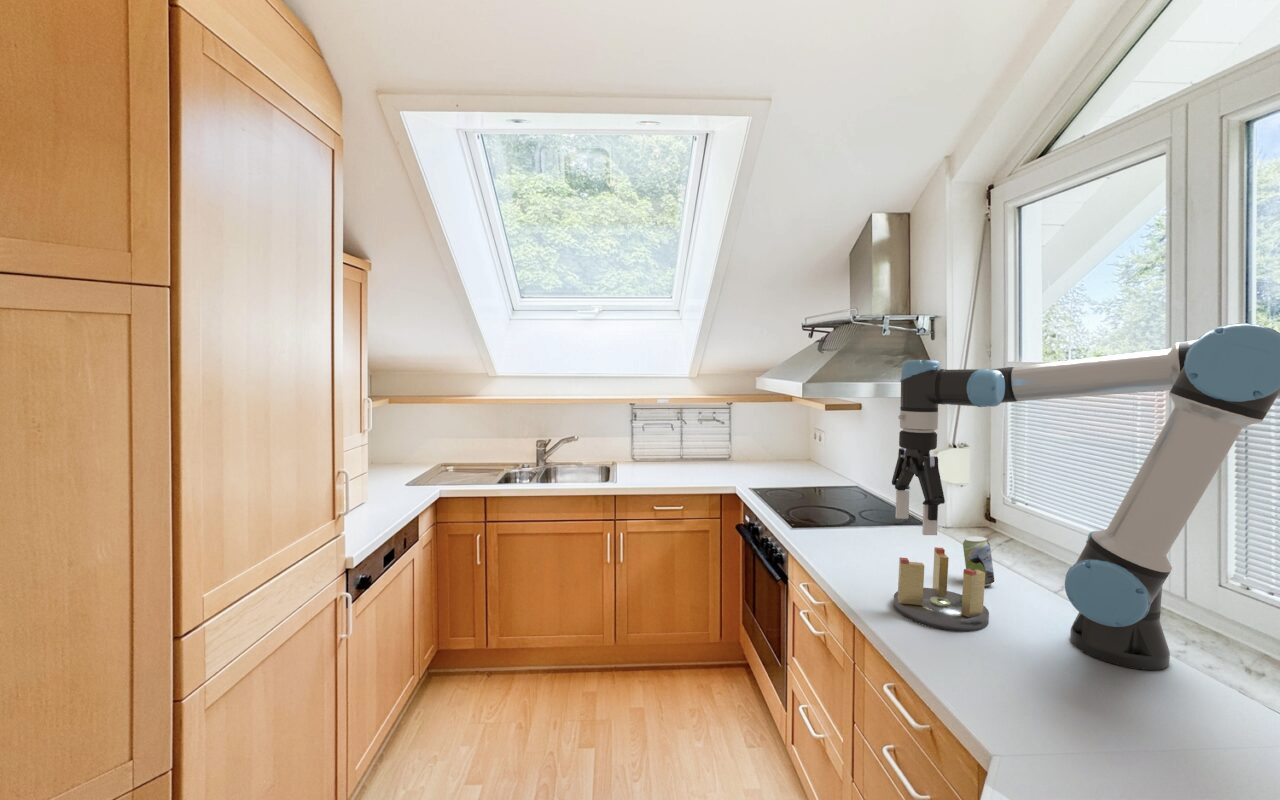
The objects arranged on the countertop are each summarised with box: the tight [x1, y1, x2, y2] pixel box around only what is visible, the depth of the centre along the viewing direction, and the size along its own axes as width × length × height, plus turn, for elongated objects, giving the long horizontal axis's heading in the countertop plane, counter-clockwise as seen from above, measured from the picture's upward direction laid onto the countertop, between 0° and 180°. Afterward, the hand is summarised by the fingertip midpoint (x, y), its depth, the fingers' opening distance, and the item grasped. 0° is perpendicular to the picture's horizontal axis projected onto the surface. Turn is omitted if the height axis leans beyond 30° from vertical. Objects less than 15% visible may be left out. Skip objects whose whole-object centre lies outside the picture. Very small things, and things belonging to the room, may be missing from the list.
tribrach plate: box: [893, 587, 990, 633], centre depth 132 cm, size 19×19×3 cm
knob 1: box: [897, 557, 925, 605], centre depth 132 cm, size 5×2×10 cm, turn 77°
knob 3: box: [961, 568, 985, 618], centre depth 126 cm, size 5×2×10 cm, turn 119°
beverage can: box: [962, 535, 995, 587], centre depth 150 cm, size 6×7×12 cm
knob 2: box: [932, 547, 950, 596], centre depth 138 cm, size 5×2×10 cm, turn 168°
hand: (915, 526), depth 131 cm, fingers open, 13 cm apart
